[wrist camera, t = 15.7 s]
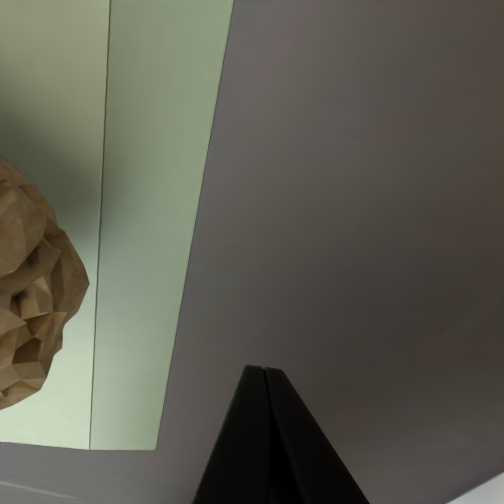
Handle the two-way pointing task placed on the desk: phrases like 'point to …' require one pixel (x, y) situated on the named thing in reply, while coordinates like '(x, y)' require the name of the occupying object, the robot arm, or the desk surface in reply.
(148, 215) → the tray
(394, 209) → the desk surface
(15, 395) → the sponge
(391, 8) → the desk surface
